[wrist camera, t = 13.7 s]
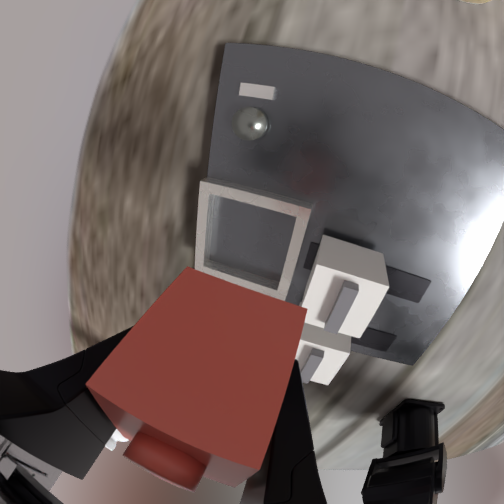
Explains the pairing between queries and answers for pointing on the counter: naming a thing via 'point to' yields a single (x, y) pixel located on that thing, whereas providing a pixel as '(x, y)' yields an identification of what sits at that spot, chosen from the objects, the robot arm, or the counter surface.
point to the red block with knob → (201, 380)
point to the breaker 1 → (344, 287)
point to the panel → (348, 186)
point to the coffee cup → (475, 1)
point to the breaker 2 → (321, 353)
